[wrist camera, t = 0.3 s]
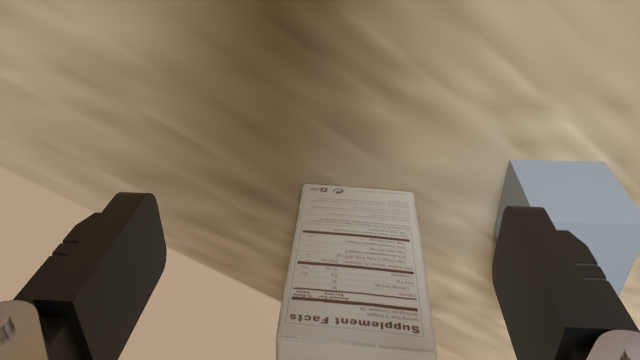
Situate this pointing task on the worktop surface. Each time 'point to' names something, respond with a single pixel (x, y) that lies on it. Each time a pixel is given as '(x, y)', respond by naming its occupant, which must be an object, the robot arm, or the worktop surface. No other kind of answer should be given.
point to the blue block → (580, 208)
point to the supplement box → (355, 279)
